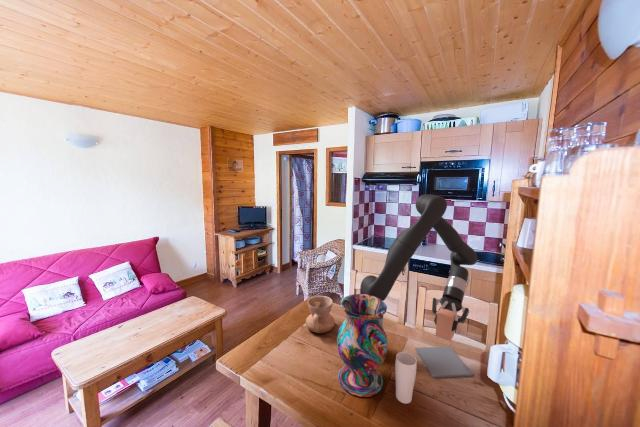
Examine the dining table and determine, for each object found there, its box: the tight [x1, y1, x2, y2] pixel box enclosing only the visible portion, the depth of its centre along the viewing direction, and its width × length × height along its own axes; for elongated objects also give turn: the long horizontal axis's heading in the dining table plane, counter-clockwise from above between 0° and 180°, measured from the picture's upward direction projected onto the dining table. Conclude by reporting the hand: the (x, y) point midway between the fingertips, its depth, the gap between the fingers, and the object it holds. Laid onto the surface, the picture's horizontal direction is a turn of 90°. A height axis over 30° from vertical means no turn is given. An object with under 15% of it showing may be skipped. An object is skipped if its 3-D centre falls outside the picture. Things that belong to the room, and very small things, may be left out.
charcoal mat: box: [414, 346, 475, 379], centre depth 104 cm, size 16×16×1 cm
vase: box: [336, 293, 389, 398], centre depth 93 cm, size 18×18×30 cm
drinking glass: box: [394, 351, 418, 405], centre depth 86 cm, size 7×7×15 cm
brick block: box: [435, 309, 455, 342], centre depth 102 cm, size 6×6×10 cm
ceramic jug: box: [305, 295, 335, 334], centre depth 126 cm, size 18×14×14 cm
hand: (444, 327), depth 101 cm, fingers closed on brick block, 5 cm apart
